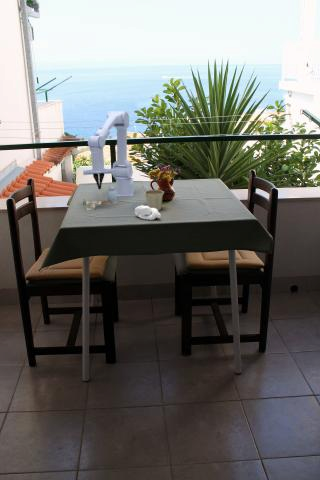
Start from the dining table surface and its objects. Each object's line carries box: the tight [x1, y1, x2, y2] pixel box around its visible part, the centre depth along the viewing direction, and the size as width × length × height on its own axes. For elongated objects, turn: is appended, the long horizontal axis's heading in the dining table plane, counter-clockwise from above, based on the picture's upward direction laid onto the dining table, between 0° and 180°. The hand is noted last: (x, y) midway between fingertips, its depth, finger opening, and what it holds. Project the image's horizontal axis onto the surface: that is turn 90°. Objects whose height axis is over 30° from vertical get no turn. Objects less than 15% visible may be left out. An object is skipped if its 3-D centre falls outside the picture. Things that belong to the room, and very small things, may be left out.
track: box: [82, 198, 118, 206], centre depth 253 cm, size 17×6×2 cm, turn 96°
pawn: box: [107, 185, 118, 204], centre depth 252 cm, size 4×4×8 cm
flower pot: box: [144, 189, 165, 212], centre depth 239 cm, size 9×9×9 cm
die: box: [85, 200, 96, 211], centre depth 242 cm, size 4×4×4 cm
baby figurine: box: [134, 204, 162, 221], centre depth 227 cm, size 9×12×8 cm
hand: (99, 188), depth 242 cm, fingers closed
